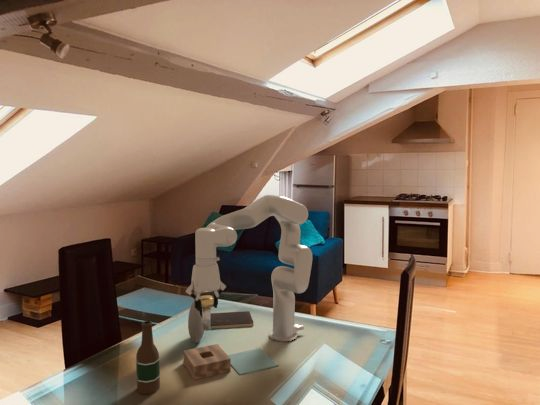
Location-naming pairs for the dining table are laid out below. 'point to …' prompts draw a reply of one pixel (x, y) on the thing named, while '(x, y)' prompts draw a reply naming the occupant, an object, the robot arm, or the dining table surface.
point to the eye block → (206, 361)
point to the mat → (251, 361)
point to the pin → (206, 310)
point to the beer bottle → (147, 362)
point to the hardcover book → (231, 319)
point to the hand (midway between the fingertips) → (206, 307)
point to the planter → (195, 324)
